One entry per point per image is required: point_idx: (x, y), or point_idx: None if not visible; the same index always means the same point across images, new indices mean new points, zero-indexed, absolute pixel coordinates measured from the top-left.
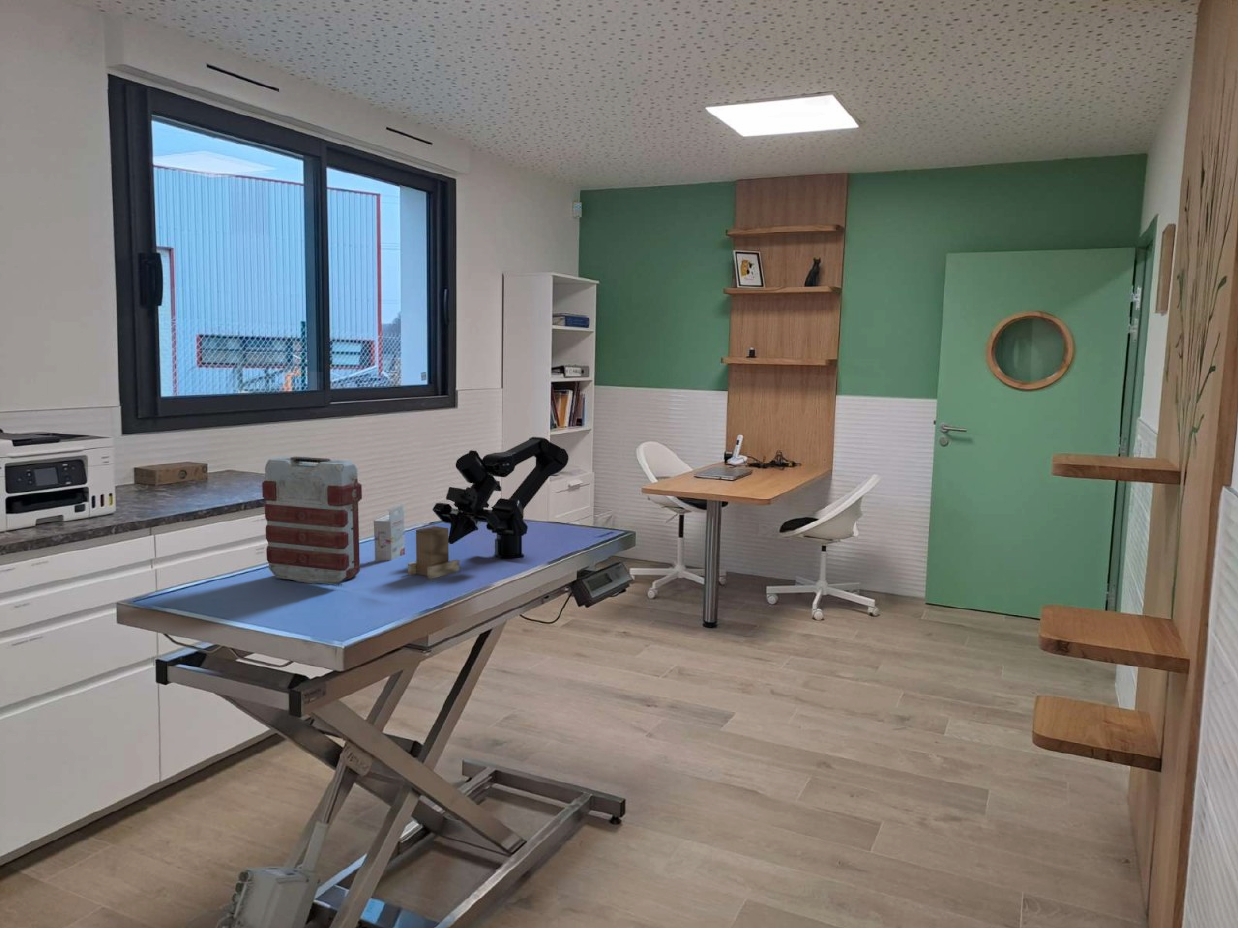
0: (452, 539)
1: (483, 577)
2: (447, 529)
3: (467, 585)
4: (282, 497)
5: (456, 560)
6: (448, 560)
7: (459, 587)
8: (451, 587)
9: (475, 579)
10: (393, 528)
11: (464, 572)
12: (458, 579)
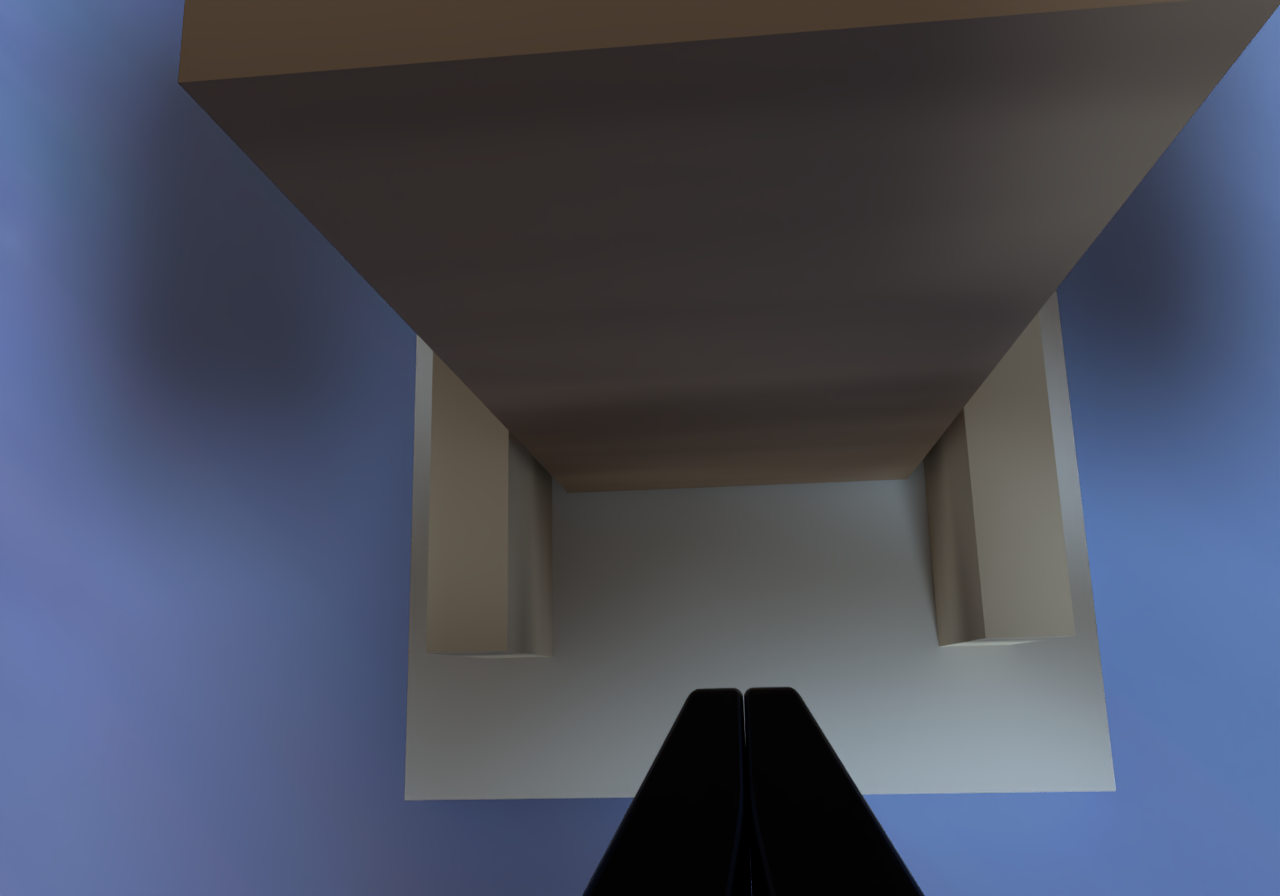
0: (662, 777)
1: (133, 815)
2: (208, 65)
3: (69, 347)
4: None
5: (445, 593)
6: (527, 448)
7: (98, 219)
8: (183, 158)
9: (164, 648)
10: None
11: (579, 875)
12: (367, 494)
